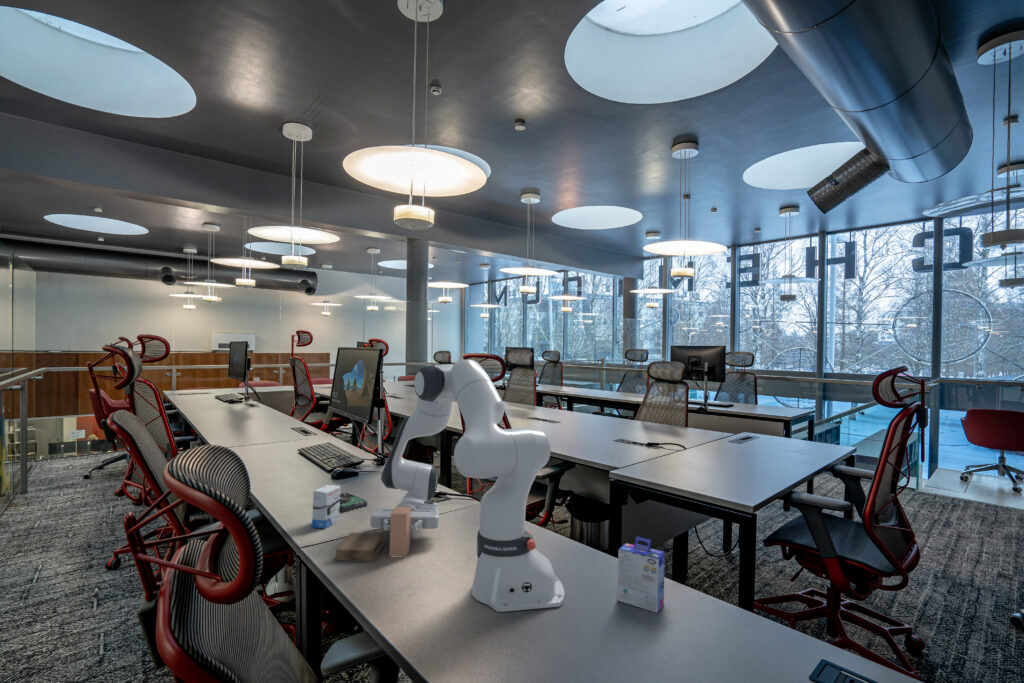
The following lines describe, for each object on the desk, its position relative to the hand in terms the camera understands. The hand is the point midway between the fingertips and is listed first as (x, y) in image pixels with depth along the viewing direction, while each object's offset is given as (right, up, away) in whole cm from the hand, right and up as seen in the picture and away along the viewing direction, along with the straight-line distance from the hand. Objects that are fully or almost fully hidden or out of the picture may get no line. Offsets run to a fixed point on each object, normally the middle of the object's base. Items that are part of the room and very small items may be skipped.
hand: (400, 528), depth 134 cm
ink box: (-30, -7, +21) cm, 37 cm away
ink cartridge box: (+62, -8, -24) cm, 67 cm away
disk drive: (-31, -8, +40) cm, 51 cm away
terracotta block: (0, -7, 0) cm, 7 cm away
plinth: (-11, -7, 0) cm, 13 cm away
